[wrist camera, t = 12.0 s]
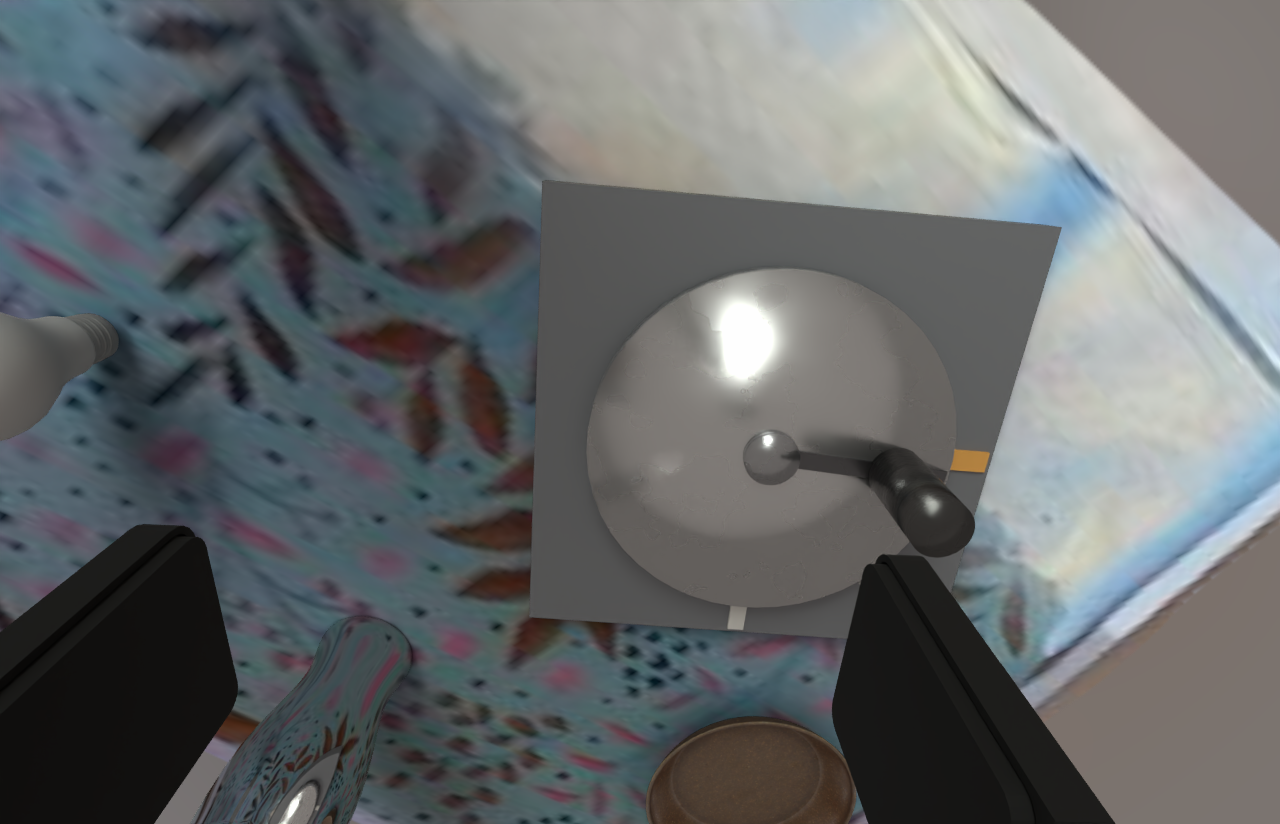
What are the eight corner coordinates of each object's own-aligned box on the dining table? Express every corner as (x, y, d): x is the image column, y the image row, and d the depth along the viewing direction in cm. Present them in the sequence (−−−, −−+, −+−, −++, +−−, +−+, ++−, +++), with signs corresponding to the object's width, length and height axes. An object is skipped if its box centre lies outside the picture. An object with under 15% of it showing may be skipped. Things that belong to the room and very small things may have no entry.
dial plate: (546, 180, 33) (542, 181, 32) (1044, 224, 34) (1064, 227, 33) (532, 602, 43) (529, 619, 41) (925, 629, 43) (936, 647, 42)
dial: (569, 573, 40) (555, 657, 33) (613, 238, 33) (606, 257, 26) (888, 613, 41) (937, 702, 34) (998, 297, 34) (1087, 330, 27)
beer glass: (298, 663, 44) (141, 894, 30) (341, 592, 42) (193, 805, 28) (391, 707, 46) (281, 948, 32) (437, 640, 44) (342, 866, 30)
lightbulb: (136, 269, 35) (-75, 313, 25) (180, 377, 37) (4, 459, 27) (27, 285, 35) (-225, 335, 25) (78, 391, 37) (-135, 478, 27)
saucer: (841, 681, 45) (853, 712, 43) (849, 830, 50) (860, 866, 48) (631, 706, 46) (630, 738, 44) (660, 850, 51) (661, 886, 49)
